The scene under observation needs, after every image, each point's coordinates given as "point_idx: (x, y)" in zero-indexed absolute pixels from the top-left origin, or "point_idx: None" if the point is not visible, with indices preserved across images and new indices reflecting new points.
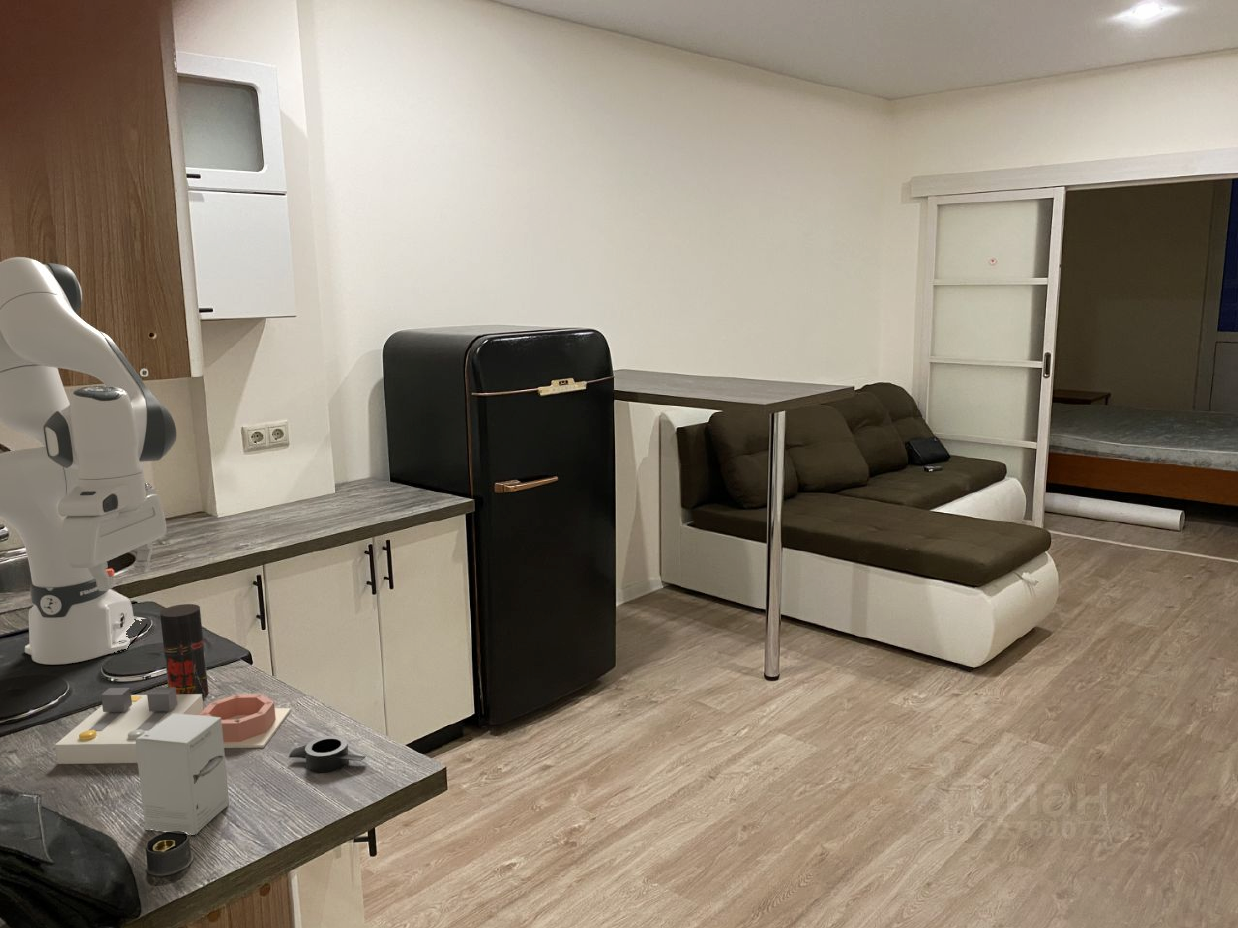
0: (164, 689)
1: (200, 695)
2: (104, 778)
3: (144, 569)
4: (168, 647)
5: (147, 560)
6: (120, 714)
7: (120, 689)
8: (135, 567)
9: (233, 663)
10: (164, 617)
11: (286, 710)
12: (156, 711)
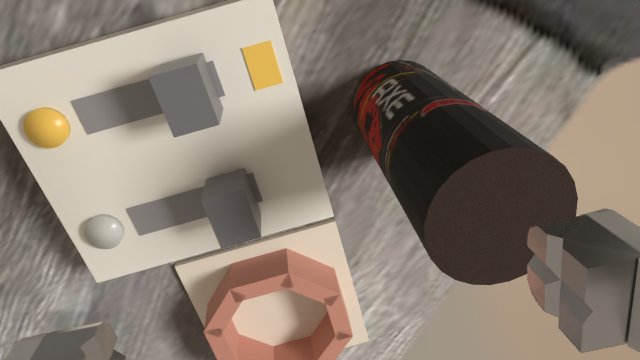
0: (241, 220)
1: (326, 217)
2: (16, 211)
3: (541, 303)
4: (391, 156)
5: (632, 340)
6: None
7: (200, 105)
8: (561, 243)
9: (590, 81)
10: (425, 207)
11: (358, 339)
12: None
